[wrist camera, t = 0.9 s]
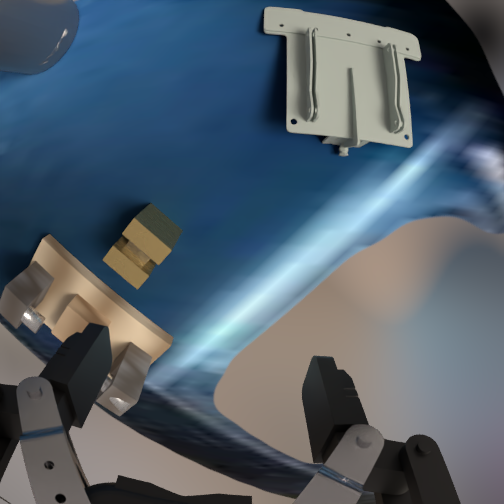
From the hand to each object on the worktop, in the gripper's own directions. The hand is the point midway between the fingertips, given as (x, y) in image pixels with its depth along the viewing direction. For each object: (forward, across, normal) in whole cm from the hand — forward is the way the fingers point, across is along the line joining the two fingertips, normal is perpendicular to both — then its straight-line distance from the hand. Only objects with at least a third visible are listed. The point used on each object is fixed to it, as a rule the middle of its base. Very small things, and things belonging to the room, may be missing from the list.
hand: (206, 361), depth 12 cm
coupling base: (+19, +15, +12) cm, 27 cm away
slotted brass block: (+19, +8, +2) cm, 21 cm away
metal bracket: (+20, -8, -15) cm, 26 cm away
